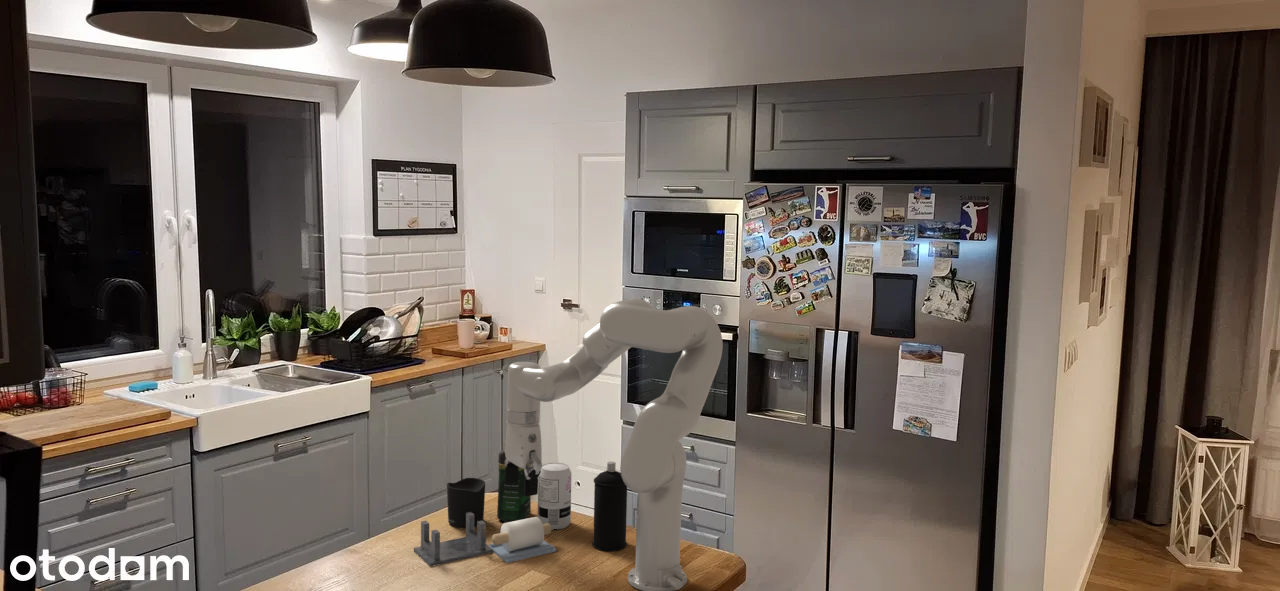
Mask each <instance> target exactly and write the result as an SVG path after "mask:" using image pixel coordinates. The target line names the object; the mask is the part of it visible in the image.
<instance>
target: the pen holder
mask: <svg viewBox="0 0 1280 591" xmlns="http://www.w3.org/2000/svg"><path fill="white" fill-rule="evenodd" d="M485 493H486V481H485V480H483V479H481V478H476V477H465V478H462V479H460V480H458V481H456V482H447V484H446V494H447V496H446V497H447V498H446V499H447V517H448V518H447V520H448V523H449V525H450V526H451V527H454V528H459V529H466V513H468V512H471V513H473V514H474V526H475V527H477V521H484V518H485V516H484V515H485V501H486V500H485V497H486V496H485V495H486V494H485Z"/></svg>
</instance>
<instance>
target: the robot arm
mask: <svg viewBox="0 0 1280 591" xmlns="http://www.w3.org/2000/svg"><path fill="white" fill-rule="evenodd" d="M723 346H724V345H723V336H722V331H721V330H720V327H719V325H718V323H717V321H716V319H714V317H713V315H712V314H710V313H709V312H708V311H707V310H706V309H704V308H702V307H699V306H695V305H686V306H680V307H677V308H672V309H667V310H665V309H658V308H656V309H655V308H654V307H653V306H652V305H651V304H650V303H649V302H648V301H646V300H644V299H642V298H629V299H624V300H620V301H615V302H613V303H611V304H609V305H607V307H606V308H604V310H603V312H602V313H601V316H600V318H599V322H598V323H596V324H595V325H594V326H593V327H592V328H590V329H589V330H587V331H586V332H585V333H584V335H583V337H582V346H581V347H580V349H579V350H577V351H576V352H574V354H572V355H571V356H570V357H568V358H567V359H566V360H564V361H562V362H560V363H556V364H553V365H549V366H546V367H541V366H540V364H538V363H536V362H531V361H516V362H513V363H511V364H509V366H508V369H507V388H506V389H507V391H506V418H505V419H506V424H507V425H506V433H505V443H503V445H502V448H503V449H504V458H505V462H504V464H505V466H507V467H505V483H506V484H508V483H514V482H518V467H520V468H522V469H524V472H525V475H526V479H524V496H531V497H533V496H536V495H537V496H538V478H539V475H540V473H541V471H540V470H541V468H542V465H543V463H542V460H543V459H542V456H543V455H542V453H543V452H542V435H541V427H540V419H541V418H540V417H541V415H540V414H541V402H543V403H550V402H554V401H556V400H559V399H562V398H564V397H567V396H570V395H573V394H575V393H576V392H578V391H579V390H581V389H582V388H584V387H585V386H586V385H588V384H589V383H591V382H592V381H594V380H595V379H596V378H597V377H598V376H599V375H600V374H602V373H603V371H605V369H607V368H608V367H609V365H611V363H613V362H614V361H615V360H617V359H618V358H619V357H620V356H622V355H624V354H625V353H626V352H627V351H628V350H629V349H631V348H635V349H642V350H646V351H647V350H648V351H653V352H658V353H664V354H665V353H666V354H673V353H678V352H680V351H682V352H681V353H680V356H679V358H678V360H677V361H676V363H675V364H674V367H673V369H672V372H671V375H670V378H669V380H668V383H667V384H666V388H665V390H664V391H663V393H662V394H661V395H660V396H659V397H656V398H655V399H653V400H651V401H649V402H647V404H645V405H644V406H643V408H642V409H641V410H640V412H639V413H638V416H637V418H636V420H635V423H634V425H633V428H632V430H631V433H630V435H629V439H628V441H627V443H626V446H625V449H624V450H623V454H622V457H621V460H620V470H619V472H620V473H621V476H622V479H623V481H624V483H625V485H626V486H627V489H629V490H631V492H634V493H637V500H636V526H635V527H636V529H635V530H636V531H635V563H634V564H635V565H634V566H635V567H632V568H631V569H630V570H629V572H628V574H627V582H628V583H629V585H631V586H632V587H633V588H635V589H637V590H639V591H677V590H680V589H682V588H683V587H684V586H685V585H686V584H687V582H688V578H687V574H686V573H685V572H684V571H683V565H681V564H680V563H681V537H682V536H681V535H682V534H681V533H682V532H681V531H682V510H683V509H682V507H683V506H682V504H683V489H684V482H685V475H686V470H687V455H686V450H685V447H684V445H683V444H682V442H681V441H680V440H682V439H683V438H686V437H687V436H688V435H689V434H690V433H692V432H693V431H694V430H695V429H696V427H697V425H698V422H699V419H700V416H701V413H702V412H703V409H704V408H703V407H704V406H705V403H706V400H707V398H708V395H709V393H710V390H711V388H712V384H713V381H714V379H715V376H716V374H717V371H718V369H719V366H720V363H721V359H722V356H723V348H724V347H723ZM503 449H502V450H503ZM526 464H531V465H526ZM528 469H531V472H530V473H529V470H528Z"/></svg>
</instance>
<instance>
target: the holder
mask: <svg viewBox="0 0 1280 591" xmlns="http://www.w3.org/2000/svg"><path fill="white" fill-rule="evenodd" d="M476 528H477V529H476V531H475V527H474V514H473V513H471V512H468V513H466V528H465V537H459V538H455V539H450V540H446V541H441V531H438V529H434V530H430V522H428V521H427V520H422V521H420V546H416V547H413V552H414V553H415V554H416V555H417V554H418V555H419V556H418V555H417V556H418V557H419V558H420V557H421V558H420V559H422V560H423V562H424V563H425V564H427V566H429V567H430V566H431V567H434V566H433V565H435V566H439V565H438V564H440V565H443V564H448V563H451V562H452V563H453V562H457V561H461V560H465V559H471V558H475V557H479V555H480V556H484V555H489V554H492V553H494V552H493V549H492V548H491V547H489V546H488V544H487V543H486V542H487V541H486V539H487V537H486V536H487V534H486V532H487V523H486V522H485V521H484V520H483V521H477V526H476ZM430 531H431V533H430ZM430 535H431V538H430ZM430 539H431V540H430ZM488 553H489V554H488Z"/></svg>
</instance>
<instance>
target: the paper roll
mask: <svg viewBox="0 0 1280 591" xmlns="http://www.w3.org/2000/svg"><path fill="white" fill-rule="evenodd" d="M551 533H552V530H551V525H550V524H549V523H546V524H542V522H541V520H540V519H539V518H538V516H534V517H527V518H526V519H522V520H517V521H513V522H504V523H502V525H501V527H500V533H495V534H493V535H492V538H491V539H492V543H493V544H494V545H499V544H503V547H504V549H505V550H506V551H508V552H509V551H514V550H518V549H522V548H527V547H531V546H536V545H540V544H542V543H543V540H544V539H545V535H548V534H551ZM544 541H545V540H544Z"/></svg>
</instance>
